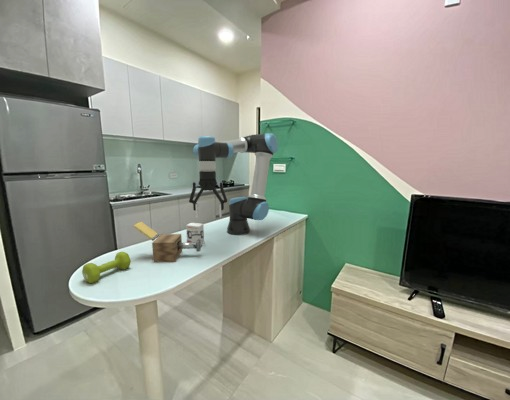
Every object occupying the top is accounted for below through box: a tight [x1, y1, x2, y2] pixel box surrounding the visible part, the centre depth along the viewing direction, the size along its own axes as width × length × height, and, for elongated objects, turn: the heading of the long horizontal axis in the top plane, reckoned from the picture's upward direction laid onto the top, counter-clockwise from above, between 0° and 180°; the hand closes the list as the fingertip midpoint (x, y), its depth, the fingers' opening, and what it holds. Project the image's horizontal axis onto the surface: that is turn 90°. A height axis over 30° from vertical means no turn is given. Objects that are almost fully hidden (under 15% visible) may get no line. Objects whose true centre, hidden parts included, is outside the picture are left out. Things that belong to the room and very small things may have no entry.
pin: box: [177, 240, 202, 252], centre depth 109 cm, size 12×6×6 cm, turn 94°
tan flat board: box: [132, 221, 160, 242], centre depth 106 cm, size 11×7×1 cm
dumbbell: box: [81, 251, 132, 284], centre depth 92 cm, size 16×8×7 cm, turn 151°
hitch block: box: [151, 233, 183, 263], centre depth 108 cm, size 10×12×10 cm
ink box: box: [185, 222, 205, 247], centre depth 125 cm, size 8×5×12 cm, turn 73°
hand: (209, 216), depth 107 cm, fingers open, 10 cm apart
